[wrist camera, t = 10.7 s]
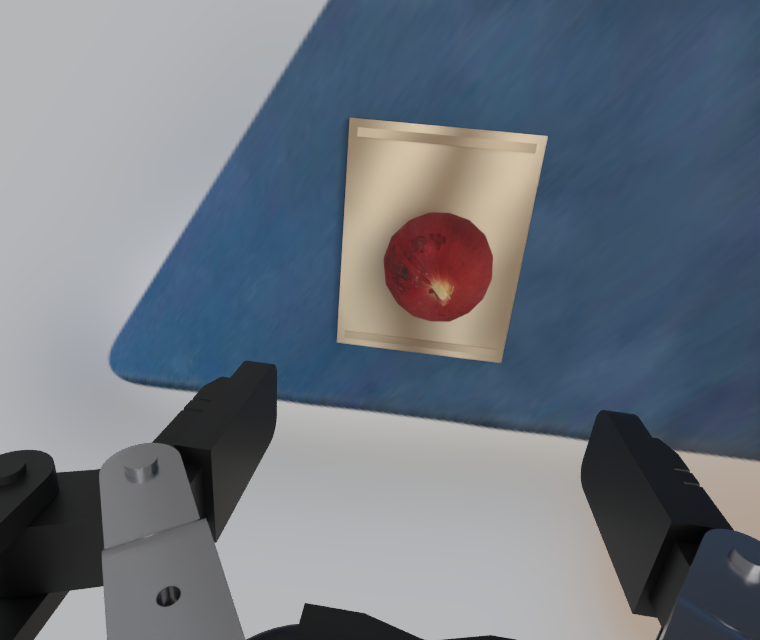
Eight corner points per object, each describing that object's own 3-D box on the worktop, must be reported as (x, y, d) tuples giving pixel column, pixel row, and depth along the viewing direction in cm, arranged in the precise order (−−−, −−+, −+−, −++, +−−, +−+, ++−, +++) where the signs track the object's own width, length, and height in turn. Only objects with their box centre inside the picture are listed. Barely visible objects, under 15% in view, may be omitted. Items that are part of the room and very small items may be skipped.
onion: (377, 276, 30) (358, 325, 23) (408, 188, 28) (399, 209, 20) (463, 308, 30) (472, 366, 23) (501, 222, 28) (525, 256, 21)
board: (543, 135, 27) (548, 136, 26) (498, 355, 32) (501, 363, 31) (353, 118, 28) (349, 117, 27) (340, 335, 33) (336, 342, 32)
